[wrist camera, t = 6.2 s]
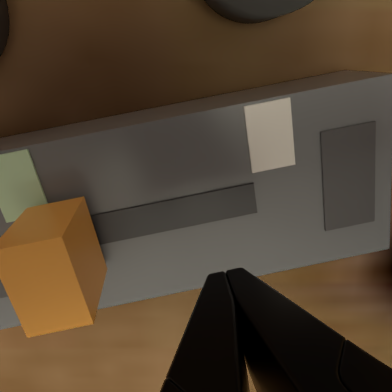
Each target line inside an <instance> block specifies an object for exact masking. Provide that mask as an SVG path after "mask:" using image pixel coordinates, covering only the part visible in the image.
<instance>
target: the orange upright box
mask: <svg viewBox="0 0 392 392" xmlns="http://www.w3.org/2000/svg"><path fill="white" fill-rule="evenodd" d="M106 272H107V266H106V263H105V260H104V257H103V254H102V250H101V247H100V244H99V241H98V238H97V235H96V232H95V229H94V226H93V223H92V219H91V216H90V213H89V210H88V207H87V204H86V201H85V198H84V196H83V197H78V198H73V199H68V200H63V201H58V202H53V203H48V204H43V205H39V206H34V207H29V208H26V209H25V210H24V212H23V213H22V214H21V215H20V216H19V217H18V218H17V219H16V221H15V222H14V223H13V224H12V225H11V226H10V227H9V228H8V230H7V231H6V232H5V233H4V234H3V235H2V236H1V237H0V280H1V282H2V284H3V286H4V288H5V290H6V293H7V295H8V297H9V299H10V301H11V303H12V306H13V308H14V310H15V312H16V314H17V316H18V319H19V321H20V323H21V325H22V327H23V329H24V332H25V334H26V336H27V338H29V337H33V336H38V335H43V334H48V333H53V332H57V331H62V330H67V329H72V328H77V327H81V326H86V325H91V324H94V320H95V316H96V312H97V308H98V304H99V300H100V296H101V292H102V288H103V284H104V280H105V276H106Z"/></svg>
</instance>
